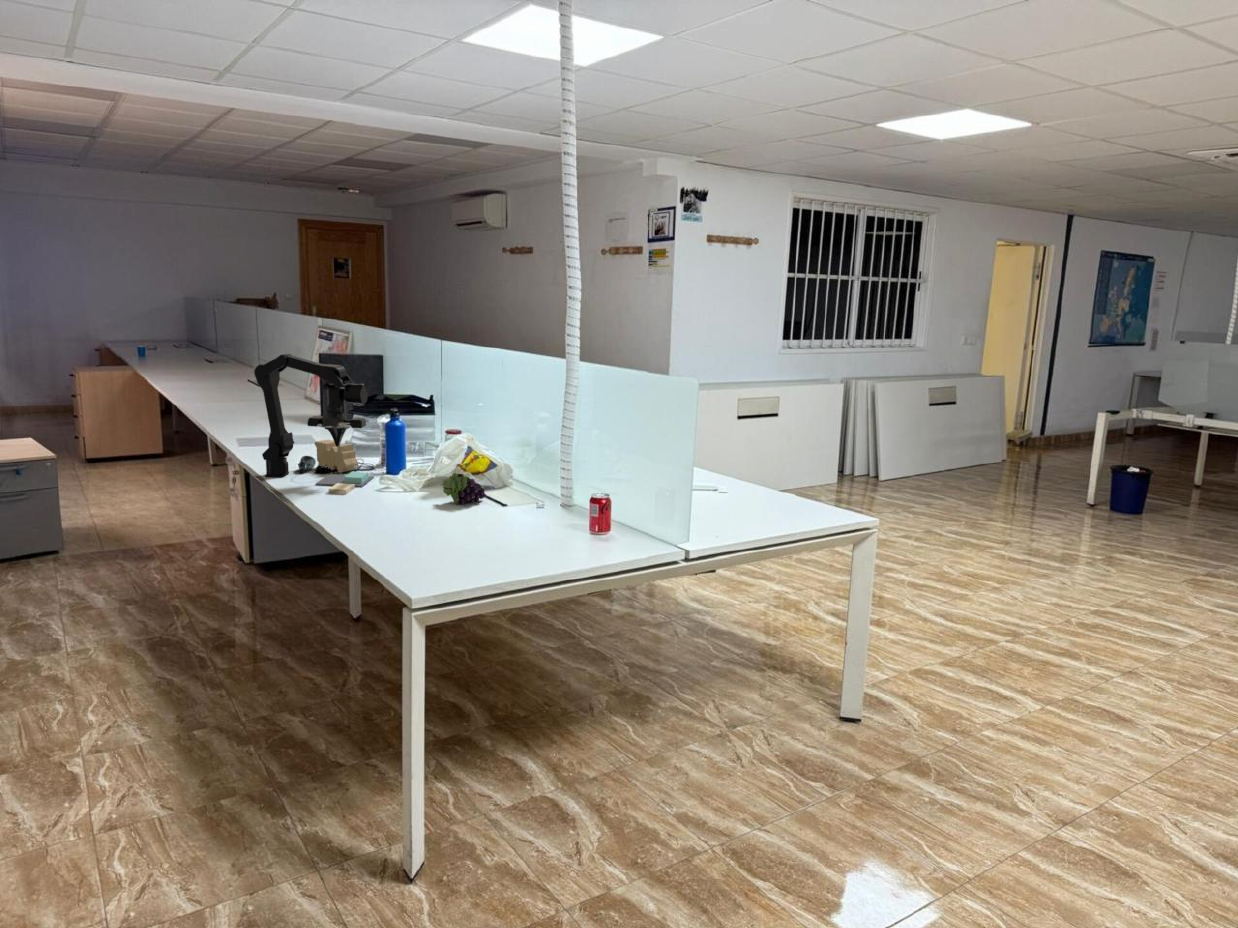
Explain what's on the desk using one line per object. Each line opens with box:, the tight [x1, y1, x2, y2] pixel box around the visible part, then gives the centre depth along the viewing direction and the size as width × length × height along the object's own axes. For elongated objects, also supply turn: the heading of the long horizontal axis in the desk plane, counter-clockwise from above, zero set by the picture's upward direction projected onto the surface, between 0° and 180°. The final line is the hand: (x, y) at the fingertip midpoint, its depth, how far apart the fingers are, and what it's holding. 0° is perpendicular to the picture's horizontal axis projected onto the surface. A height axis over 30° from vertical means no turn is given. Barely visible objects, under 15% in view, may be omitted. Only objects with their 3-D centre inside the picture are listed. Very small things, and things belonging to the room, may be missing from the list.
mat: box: [315, 473, 375, 488], centre depth 304 cm, size 16×14×1 cm
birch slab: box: [328, 483, 356, 495], centre depth 291 cm, size 6×8×2 cm
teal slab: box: [344, 471, 369, 483], centre depth 304 cm, size 2×8×6 cm
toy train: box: [314, 439, 359, 473], centre depth 321 cm, size 6×17×10 cm, turn 57°
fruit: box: [442, 472, 486, 505], centre depth 283 cm, size 10×11×15 cm
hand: (337, 446), depth 304 cm, fingers closed
